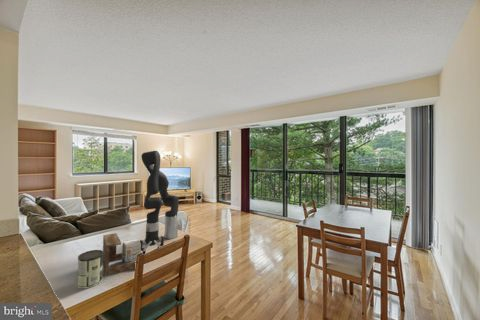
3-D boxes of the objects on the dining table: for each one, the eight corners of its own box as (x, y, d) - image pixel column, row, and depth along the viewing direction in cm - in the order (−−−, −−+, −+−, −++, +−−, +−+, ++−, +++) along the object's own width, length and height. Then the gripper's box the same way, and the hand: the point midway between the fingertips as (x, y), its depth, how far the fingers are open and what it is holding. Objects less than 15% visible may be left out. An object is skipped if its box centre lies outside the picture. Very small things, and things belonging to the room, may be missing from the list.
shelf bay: (133, 253, 137) (134, 228, 137) (142, 268, 119) (143, 240, 119) (101, 260, 127) (102, 233, 127) (106, 278, 108) (107, 247, 108)
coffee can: (90, 275, 110) (90, 248, 110) (107, 277, 109) (108, 250, 109) (71, 287, 100) (72, 257, 100) (90, 290, 99) (91, 260, 99)
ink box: (124, 266, 120) (125, 246, 120) (121, 260, 127) (122, 241, 127) (140, 262, 126) (141, 242, 126) (137, 257, 132) (137, 238, 132)
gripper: (161, 225, 140) (160, 249, 140) (138, 229, 131) (137, 255, 131) (165, 228, 134) (164, 254, 134) (141, 233, 125) (140, 260, 125)
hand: (151, 254), depth 133 cm, fingers open, 8 cm apart
